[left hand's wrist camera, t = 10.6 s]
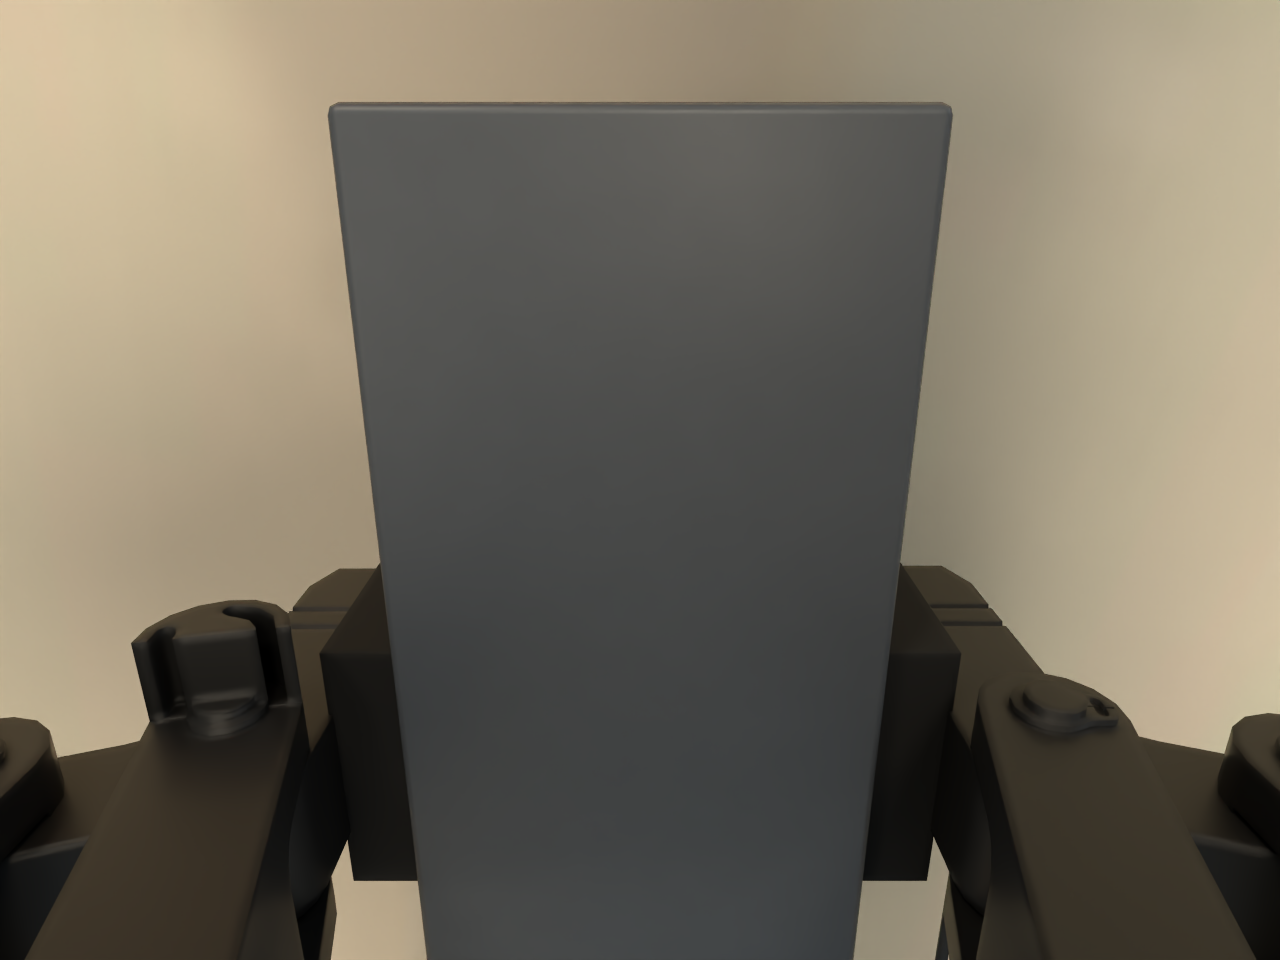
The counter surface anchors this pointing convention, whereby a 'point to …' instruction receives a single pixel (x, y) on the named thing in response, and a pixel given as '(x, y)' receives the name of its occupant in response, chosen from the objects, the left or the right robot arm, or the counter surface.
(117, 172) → the counter surface
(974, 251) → the counter surface
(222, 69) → the counter surface
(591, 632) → the bar
